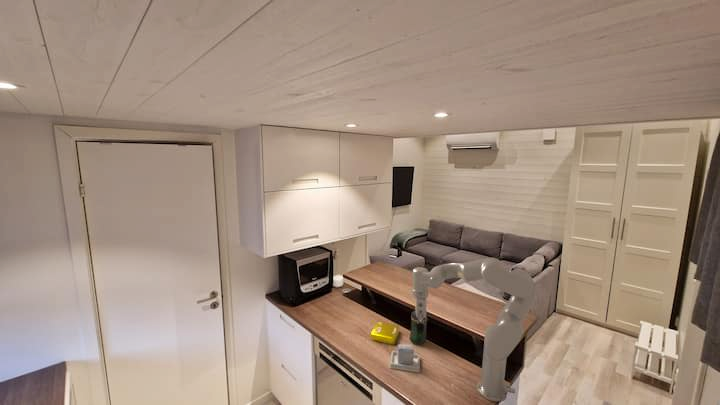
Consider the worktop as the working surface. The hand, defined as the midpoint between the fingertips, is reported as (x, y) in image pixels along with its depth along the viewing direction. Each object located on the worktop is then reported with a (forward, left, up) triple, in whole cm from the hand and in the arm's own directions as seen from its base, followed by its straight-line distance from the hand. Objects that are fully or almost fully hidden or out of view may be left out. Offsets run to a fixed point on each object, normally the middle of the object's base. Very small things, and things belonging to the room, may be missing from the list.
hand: (420, 325), depth 146 cm
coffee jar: (0, -23, -23) cm, 33 cm away
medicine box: (+7, -2, -23) cm, 24 cm away
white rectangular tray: (+7, -2, -23) cm, 24 cm away
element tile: (+19, -24, -24) cm, 39 cm away
